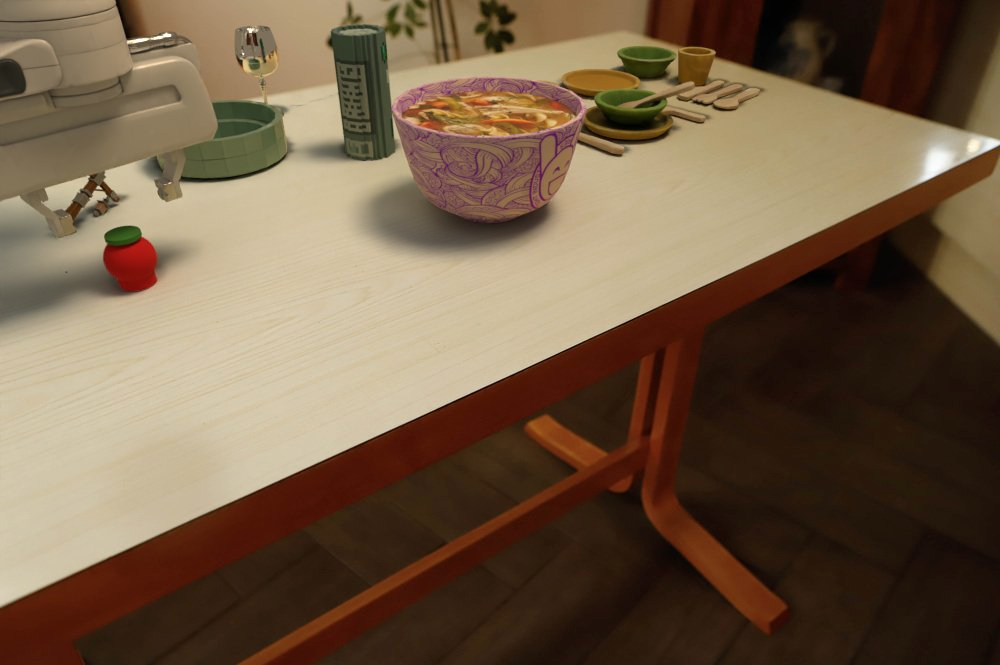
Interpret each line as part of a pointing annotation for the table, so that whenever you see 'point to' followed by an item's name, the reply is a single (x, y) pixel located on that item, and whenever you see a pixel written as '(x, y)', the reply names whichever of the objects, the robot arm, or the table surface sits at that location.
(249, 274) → the table surface
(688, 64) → the tableware set
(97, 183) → the wooden post with brackets
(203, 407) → the table surface
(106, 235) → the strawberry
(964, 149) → the table surface
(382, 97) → the can
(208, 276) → the table surface
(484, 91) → the bowl of food
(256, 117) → the bowl
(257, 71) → the wineglass
